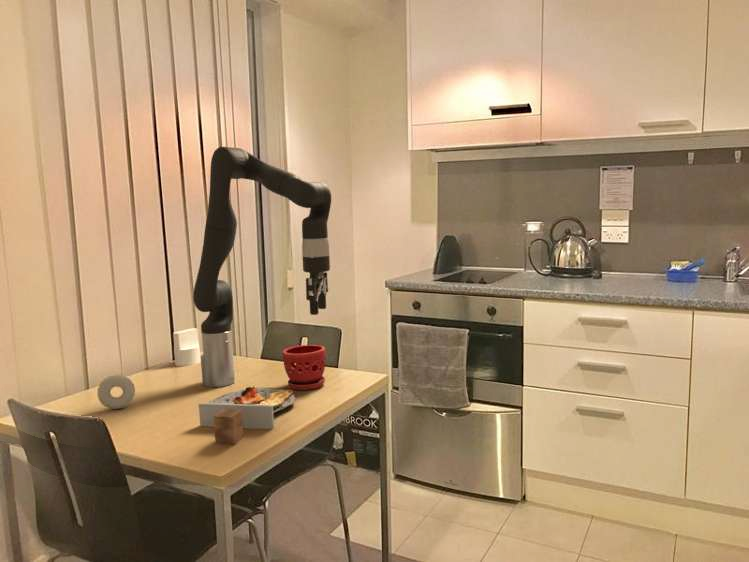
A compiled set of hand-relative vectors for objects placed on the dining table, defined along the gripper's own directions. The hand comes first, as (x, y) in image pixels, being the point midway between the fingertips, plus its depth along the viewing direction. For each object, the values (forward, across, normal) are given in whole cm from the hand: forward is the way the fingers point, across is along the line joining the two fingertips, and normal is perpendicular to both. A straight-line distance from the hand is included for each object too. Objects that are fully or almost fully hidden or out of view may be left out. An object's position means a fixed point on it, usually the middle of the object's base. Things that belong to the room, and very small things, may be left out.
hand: (318, 311), depth 169 cm
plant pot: (+26, -14, -9) cm, 31 cm away
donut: (+27, +11, -58) cm, 64 cm away
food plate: (+27, +7, -19) cm, 33 cm away
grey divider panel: (+26, +22, -17) cm, 38 cm away
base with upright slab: (+27, -38, -61) cm, 77 cm away
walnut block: (+26, +30, -15) cm, 43 cm away
